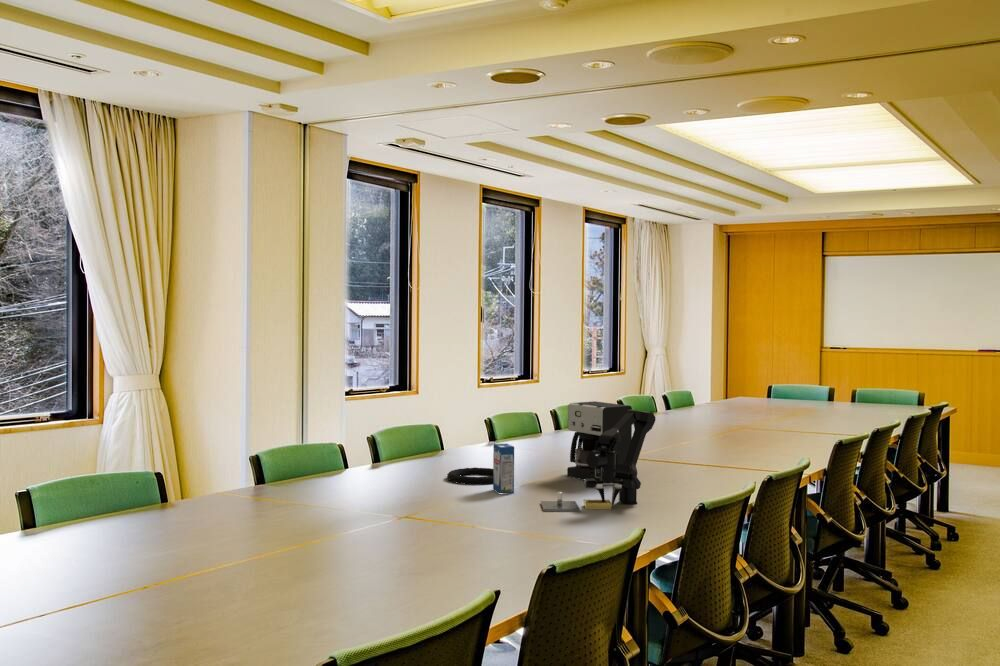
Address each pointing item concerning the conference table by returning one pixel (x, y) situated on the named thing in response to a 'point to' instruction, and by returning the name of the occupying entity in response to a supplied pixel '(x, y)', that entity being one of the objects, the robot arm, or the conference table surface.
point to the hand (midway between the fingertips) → (608, 504)
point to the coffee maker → (594, 433)
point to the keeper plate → (559, 508)
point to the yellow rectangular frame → (597, 504)
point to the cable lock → (456, 477)
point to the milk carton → (503, 468)
